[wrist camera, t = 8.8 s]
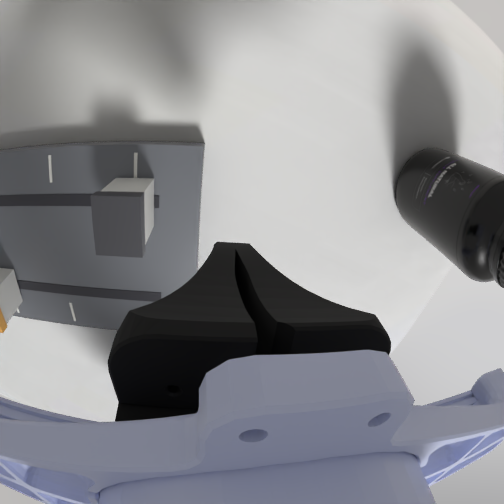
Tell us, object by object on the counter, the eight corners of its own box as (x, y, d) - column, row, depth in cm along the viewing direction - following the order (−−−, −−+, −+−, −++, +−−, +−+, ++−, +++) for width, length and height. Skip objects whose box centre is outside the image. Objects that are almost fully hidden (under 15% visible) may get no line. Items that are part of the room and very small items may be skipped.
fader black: (155, 227, 19) (142, 257, 15) (116, 225, 18) (95, 255, 15) (155, 176, 17) (140, 196, 14) (114, 176, 17) (90, 195, 13)
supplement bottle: (399, 139, 19) (531, 192, 9) (462, 153, 20) (576, 206, 9) (384, 227, 22) (484, 323, 12) (446, 229, 23) (540, 306, 13)
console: (196, 323, 24) (196, 335, 23) (-3, 301, 21) (-10, 311, 20) (204, 143, 18) (203, 146, 17) (-33, 155, 15) (-45, 159, 14)
